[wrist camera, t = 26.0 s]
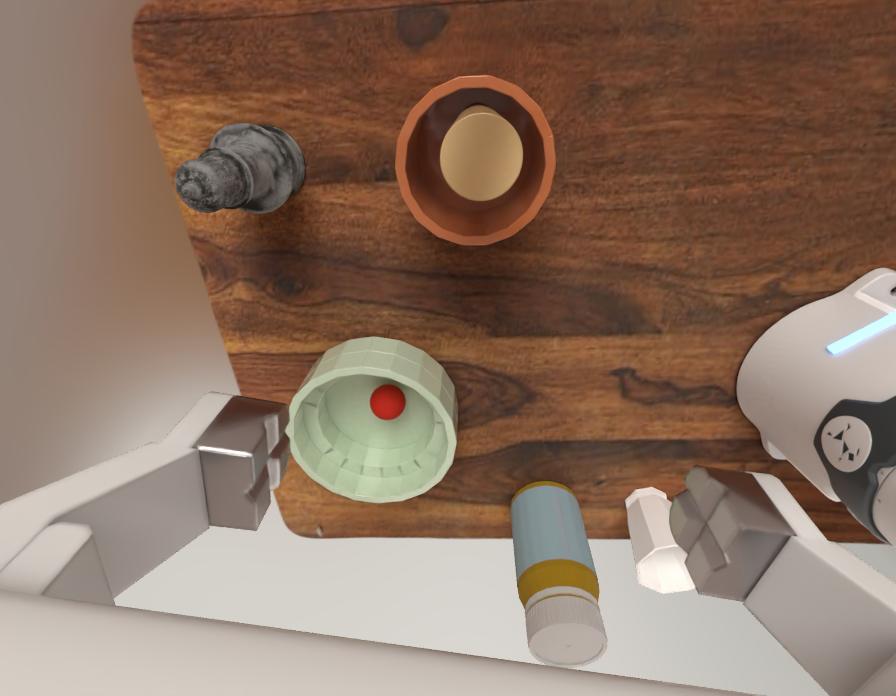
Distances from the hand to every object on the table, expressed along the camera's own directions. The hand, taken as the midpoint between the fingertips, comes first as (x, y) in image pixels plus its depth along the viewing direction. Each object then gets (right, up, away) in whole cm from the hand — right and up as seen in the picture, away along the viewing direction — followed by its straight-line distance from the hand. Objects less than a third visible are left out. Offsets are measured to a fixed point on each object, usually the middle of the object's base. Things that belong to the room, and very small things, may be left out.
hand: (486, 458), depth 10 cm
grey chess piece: (-14, +16, +26) cm, 34 cm away
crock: (+1, +16, +25) cm, 30 cm away
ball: (-6, -3, +33) cm, 33 cm away
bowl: (-7, -3, +36) cm, 36 cm away
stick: (+1, +18, +23) cm, 29 cm away
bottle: (+9, -14, +41) cm, 44 cm away
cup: (+21, -14, +40) cm, 48 cm away
